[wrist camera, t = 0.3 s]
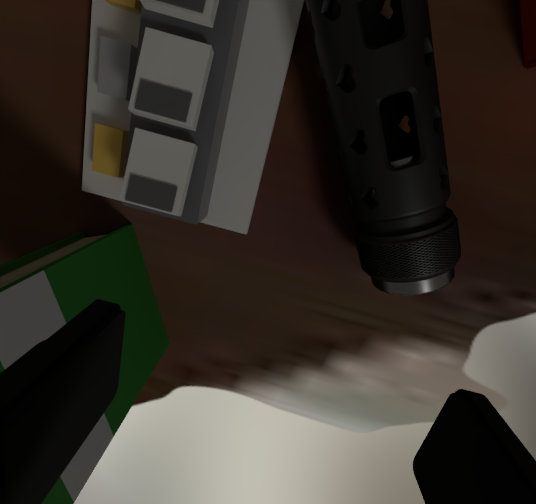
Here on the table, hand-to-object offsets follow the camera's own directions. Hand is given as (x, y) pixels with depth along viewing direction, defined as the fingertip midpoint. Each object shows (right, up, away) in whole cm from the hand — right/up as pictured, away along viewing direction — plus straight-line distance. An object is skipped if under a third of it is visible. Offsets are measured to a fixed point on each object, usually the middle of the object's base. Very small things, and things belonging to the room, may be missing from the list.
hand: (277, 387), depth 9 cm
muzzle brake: (+11, +16, +26) cm, 32 cm away
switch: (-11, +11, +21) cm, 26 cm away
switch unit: (-9, +21, +25) cm, 34 cm away
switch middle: (-9, +18, +18) cm, 27 cm away
